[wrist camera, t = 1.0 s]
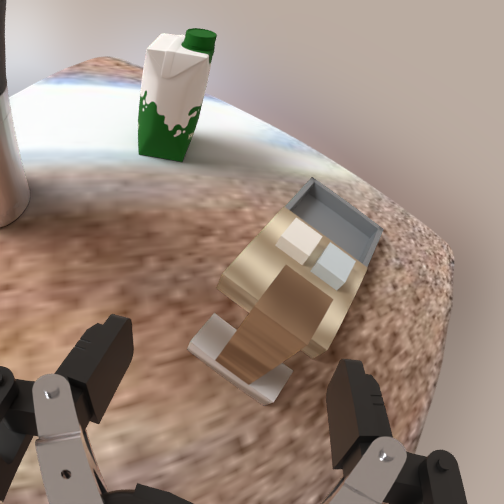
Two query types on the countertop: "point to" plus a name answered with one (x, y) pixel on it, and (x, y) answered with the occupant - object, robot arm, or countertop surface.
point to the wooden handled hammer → (264, 336)
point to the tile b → (333, 266)
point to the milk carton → (173, 92)
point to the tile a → (298, 241)
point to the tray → (336, 220)
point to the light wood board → (274, 259)
